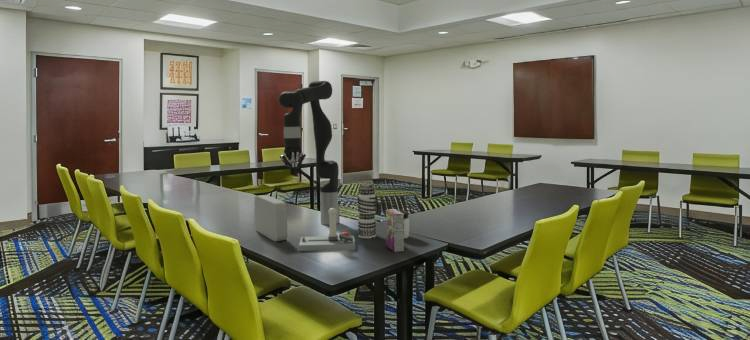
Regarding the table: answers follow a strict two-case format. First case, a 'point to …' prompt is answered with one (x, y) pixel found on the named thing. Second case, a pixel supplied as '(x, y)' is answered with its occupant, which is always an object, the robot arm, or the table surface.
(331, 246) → the switch console
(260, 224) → the rounded white slab
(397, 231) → the candy bar box
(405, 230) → the jar
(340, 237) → the rocker
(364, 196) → the decorative candle
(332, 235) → the slide lever
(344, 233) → the button
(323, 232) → the table surface
